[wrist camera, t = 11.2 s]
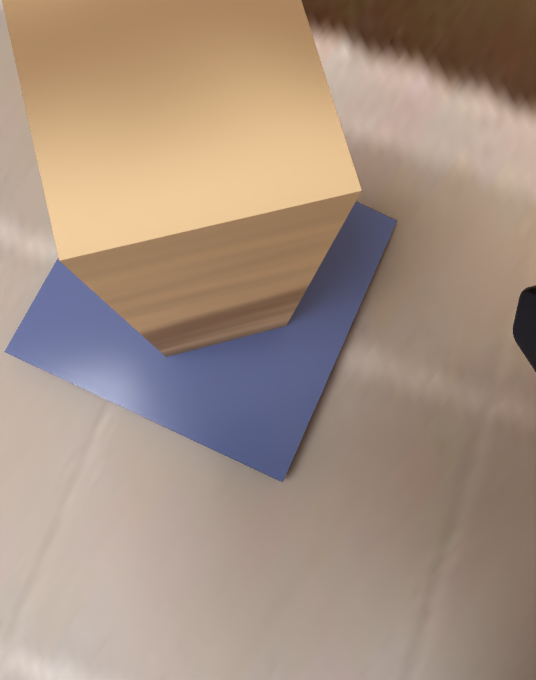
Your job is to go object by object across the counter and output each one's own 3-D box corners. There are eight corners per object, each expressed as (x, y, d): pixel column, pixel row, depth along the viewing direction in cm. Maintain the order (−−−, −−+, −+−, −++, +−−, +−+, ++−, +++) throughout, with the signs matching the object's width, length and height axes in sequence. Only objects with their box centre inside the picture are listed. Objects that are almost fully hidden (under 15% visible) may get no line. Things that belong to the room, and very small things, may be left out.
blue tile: (281, 480, 20) (282, 482, 19) (11, 353, 20) (4, 351, 19) (392, 226, 22) (397, 220, 21) (148, 112, 22) (145, 103, 21)
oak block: (286, 326, 20) (361, 190, 8) (166, 357, 19) (59, 260, 8) (254, 213, 21) (281, -63, 9) (137, 240, 20) (-2, -15, 8)
